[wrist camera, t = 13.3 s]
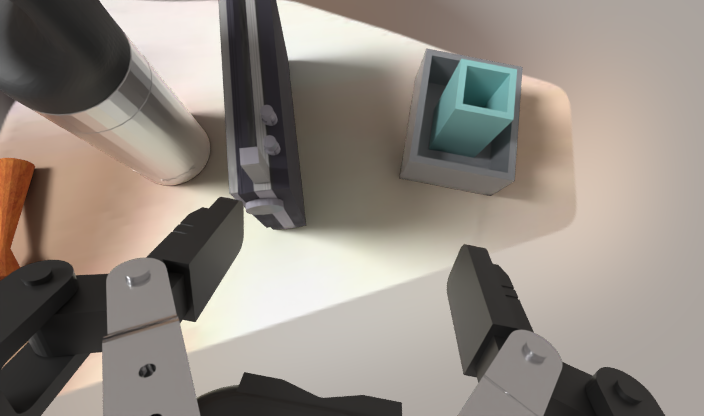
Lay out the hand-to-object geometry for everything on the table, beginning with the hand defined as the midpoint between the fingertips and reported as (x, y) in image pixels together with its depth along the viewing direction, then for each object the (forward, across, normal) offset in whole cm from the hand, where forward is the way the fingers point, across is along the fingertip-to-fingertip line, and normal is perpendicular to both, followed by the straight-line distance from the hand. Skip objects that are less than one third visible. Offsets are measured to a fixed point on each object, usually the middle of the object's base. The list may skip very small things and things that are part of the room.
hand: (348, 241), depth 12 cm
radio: (+31, +11, +10) cm, 35 cm away
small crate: (+34, -11, +5) cm, 37 cm away
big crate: (+35, -11, +5) cm, 37 cm away
